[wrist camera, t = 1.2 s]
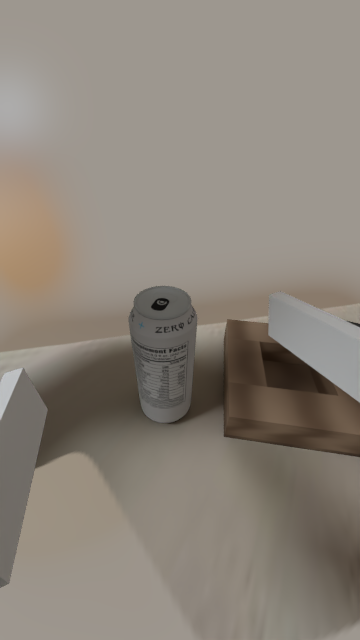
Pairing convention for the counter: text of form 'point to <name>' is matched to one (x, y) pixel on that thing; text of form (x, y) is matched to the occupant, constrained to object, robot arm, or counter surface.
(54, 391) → the counter surface
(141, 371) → the energy drink can
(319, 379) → the holder block
